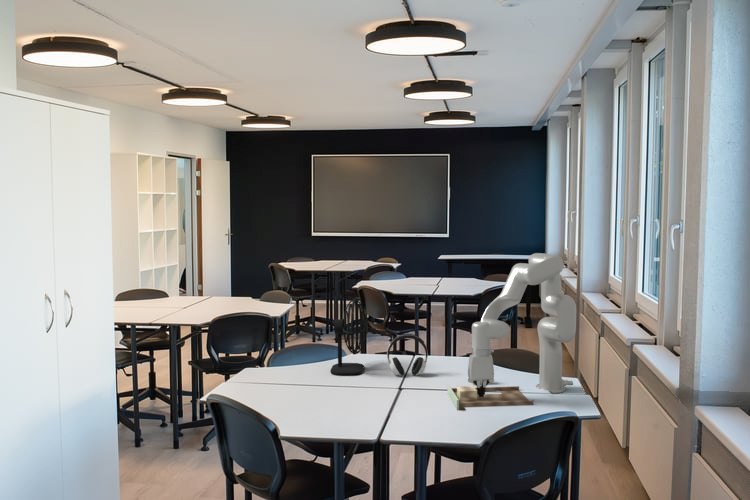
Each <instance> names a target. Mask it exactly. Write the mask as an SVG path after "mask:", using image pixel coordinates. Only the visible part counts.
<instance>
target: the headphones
mask: <svg viewBox="0 0 750 500" xmlns="http://www.w3.org/2000/svg"><path fill="white" fill-rule="evenodd" d="M403 339H411V340H412V339H413V340H414V341H417V342H418V343H419V344H421V345H422V347H423V348H424V351H425V352H424V353H425V358H424V357H421V356H419V357H418V356H417V358H416V359H415V361H414V362H413V365H412V367H411V372H410V373H411V374H412V375H413V376H419V375H423V373H424V372H425V369H426V366H427V361H428V356H429V353H428V348H427V345H426V343H425V341H424V340H423V339H422V338H421V337H420V336H418V335H417V334H416V335H415V334H413V333H402V334H400V335H397V336H395V337H394V338H393V339H392V340H391V341H390V343H389V344H388V347H387V350H386V358H387V362H388V366H389V367H390V370H391V372H392V373H393V374H394V375H395V376H399V377H401V376H403V375H405V369H404V367H403V365H402V364H401V362H400V360H399V359H398V358H397V357H396V356H395V357H392V358H391V359H390V352H391V349H392V347H393V346H394V345H395V344H396V343H397V342H398V341H400V340H403Z"/></svg>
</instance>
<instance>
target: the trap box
mask: <svg viewBox="0 0 750 500" xmlns="http://www.w3.org/2000/svg"><path fill="white" fill-rule="evenodd" d="M451 389H452V390H453V392H454V393H455V395H456V396H457V387H455V388H453V387H451ZM475 389H476V390H477V387H475ZM485 392H500V393H493V394H492V393H485V394H484V397H479V395H478V394H477V401H460V400H459V410H458V411H463V410H464V411H465V410H466V408H472V407H474V408H475V407H504V406H505V407H506V406H533V405H534V400H530V399H529V398H528V397H526V396H525V394H524V393H523V392H521V390H520V386H518V385H517V386H515V385H513V386H486V387H485ZM457 398H458V397H457ZM458 399H459V398H458Z"/></svg>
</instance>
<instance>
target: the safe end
mask: <svg viewBox="0 0 750 500" xmlns="http://www.w3.org/2000/svg"><path fill="white" fill-rule="evenodd" d="M451 388H452V387H451V386H450V384H449V385H447V394H446V395H447V396H448V398H449V400H450V401H451V403H452V404H453V406H454V408H455V409H456V410H457V411H460V410H459V399H458V398H457V396H456V395H455V393H454V392H453V390H452V389H451Z"/></svg>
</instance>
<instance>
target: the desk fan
mask: <svg viewBox="0 0 750 500" xmlns="http://www.w3.org/2000/svg"><path fill="white" fill-rule="evenodd" d="M346 321H347V322H346ZM333 322H334V324H333V330H334V331H333V332H334V335H335V334H336V335H337V363H335V364H333V365H332V366H331V368H330V373H331V374H333V375H335V376H337V375H338V376H354V375H360V374H362V373H363V372H364V370H365V365H364V364H363V363H359V362H343V349H342V348H343V344H342V343H343V341H342V340H343V339H342V338H344V343H345V346H346V348H347V349H348V351H349V352H350V353H351V354H352V355H357V354H359V353H360V352H361V351H362V349H363V348H364V345H365V342H366V339H367V335H368V331H369V330H368V329H369V327H368V324H369V323H368V319H367V316H366V312H365V309H364V307H363V305H362V303H361V301H359V300H358V299H356V298H354V299H351V300H350V301H349V302H348V303H347V305H346V307H345V310H344V313H343V319H341V318H340V319H334V321H333ZM354 336H355V337H354ZM354 338H355V339H354ZM354 340H355V341H354Z"/></svg>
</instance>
